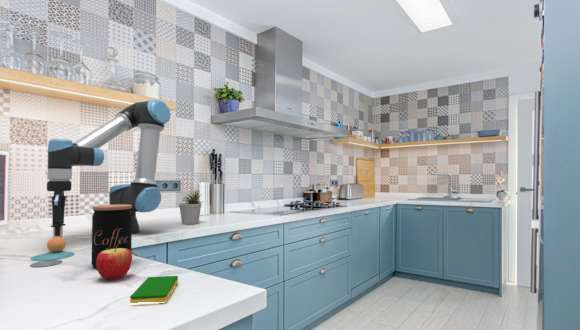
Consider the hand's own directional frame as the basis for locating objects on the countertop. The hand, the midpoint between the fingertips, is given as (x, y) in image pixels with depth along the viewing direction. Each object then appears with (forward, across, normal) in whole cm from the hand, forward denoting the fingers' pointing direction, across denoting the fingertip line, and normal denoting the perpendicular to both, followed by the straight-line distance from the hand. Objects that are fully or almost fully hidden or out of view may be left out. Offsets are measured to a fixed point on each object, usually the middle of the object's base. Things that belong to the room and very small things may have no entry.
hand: (57, 244), depth 122 cm
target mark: (+2, +11, 0) cm, 12 cm away
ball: (-1, +4, 0) cm, 5 cm away
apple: (+2, +49, +20) cm, 53 cm away
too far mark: (+2, +22, 0) cm, 23 cm away
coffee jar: (+2, +34, +19) cm, 39 cm away
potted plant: (+2, -48, +57) cm, 74 cm away
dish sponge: (+3, +66, +28) cm, 72 cm away
